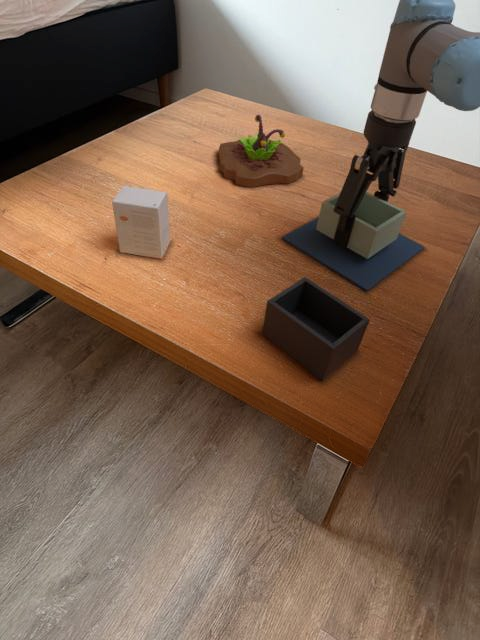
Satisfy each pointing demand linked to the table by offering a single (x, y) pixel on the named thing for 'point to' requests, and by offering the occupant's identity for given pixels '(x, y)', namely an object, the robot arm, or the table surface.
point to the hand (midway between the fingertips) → (356, 233)
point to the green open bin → (365, 224)
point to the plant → (259, 160)
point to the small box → (142, 221)
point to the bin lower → (314, 327)
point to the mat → (353, 255)
